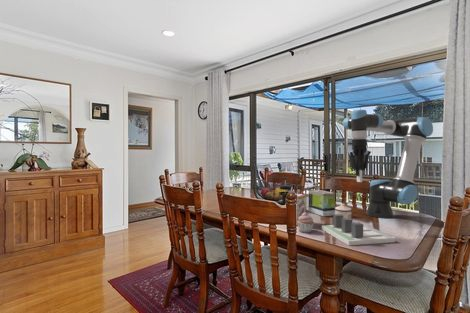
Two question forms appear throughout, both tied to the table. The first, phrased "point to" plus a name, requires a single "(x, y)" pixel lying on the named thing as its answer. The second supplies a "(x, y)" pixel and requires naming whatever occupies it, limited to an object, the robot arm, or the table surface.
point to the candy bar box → (301, 204)
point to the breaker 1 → (337, 220)
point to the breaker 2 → (357, 229)
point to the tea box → (322, 202)
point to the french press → (284, 187)
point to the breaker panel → (368, 237)
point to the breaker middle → (347, 224)
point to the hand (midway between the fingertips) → (359, 181)
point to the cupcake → (305, 223)
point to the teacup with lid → (343, 211)
